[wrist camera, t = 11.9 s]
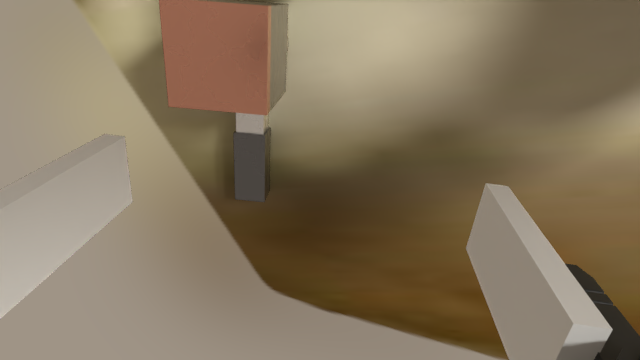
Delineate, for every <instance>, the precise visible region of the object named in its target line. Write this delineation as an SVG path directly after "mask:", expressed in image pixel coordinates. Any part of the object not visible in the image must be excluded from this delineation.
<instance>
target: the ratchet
mask: <svg viewBox="0 0 640 360" xmlns="http://www.w3.org/2000/svg"><path fill="white" fill-rule="evenodd" d="M287 51H288V35H287ZM270 136H271V128H269V113H268V115H257V114H245V113H236V131H235V132H234V173H235V199H238V200H248V201H258V202H265V200H266V198H267V196H268V193H269V191H270Z"/></svg>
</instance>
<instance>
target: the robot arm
mask: <svg viewBox="0 0 640 360" xmlns="http://www.w3.org/2000/svg"><path fill="white" fill-rule="evenodd" d="M131 203H132V193H131V185H130V176H129V168H128V160H127V151H126V143H125V137H124V136H117V135H110V134H104V135H102V136H100V137H98V138H96V139H94V140H92V141H91V142H88V143H87V144H85V145H83V146H81V147H79V148H77V149H75V150H74V151H71V152H70V153H68V154H66V155H64V156H62V157H60V158H58V159H57V160H55V161H53V162H51V163H49V164H47V165H45V166H43V167H41V168H39V169H38V170H36V171H34V172H32V173H30V174H28V175H26V176H24V177H23V178H21V179H19V180H17V181H15V182H13V183H11V184H9V185H7V186H6V187H4V188H2V189H0V319H1V318H2V317H3V316H4V315H5V314H6V313H7V312H9V311H10V310H11V309H12V308H13V307H14V306H15V305H17V303H19V302H20V301H21V300H22V299H23V298H24V297H26V296H27V295H28V294H29V293H30V292H31V291H32V290H34V289H35V288H36V287H37V286H38V285H39V284H40V283H41V282H42V281H44V280H45V279H46V278H47V277H48V276H49V275H50V274H52V272H54V271H55V270H56V269H57V268H58V267H59V266H61V265H62V264H63V263H64V262H65V261H66V260H67V259H69V258H70V257H71V256H72V255H73V254H74V253H75V252H77V251H78V250H79V249H80V248H81V247H82V246H83V245H84V244H86V243H87V242H88V241H89V240H90V239H91V238H92V237H93V236H95V235H96V234H97V233H98V232H99V231H100V230H101V229H103V228H104V227H105V226H106V225H107V224H108V223H109V222H110V221H112V219H114V218H115V217H116V216H117V215H118V214H119V213H120V212H122V211H123V210H124V209H125V208H126V207H127V206H129V205H130V204H131ZM466 250H467V252H468V255H469V257H470V260H471V263H472V265H473V268H474V270H475V273H476V275H477V278H478V281H479V283H480V286H481V288H482V291H483V294H484V296H485V299H486V301H487V304H488V306H489V309H490V312H491V314H492V317H493V319H494V322H495V324H496V327H497V330H498V332H499V335H500V337H501V340H502V343H503V345H504V348H505V350H506V353H507V355H508V358H509V360H640V336H639V335H638V334H637V333H636V331H635V330H634V329H633V328H632V326H631V325H630V324H629V323H628V321H627V320H626V319H625V317H624V316H623V315H622V314H621V312H620V311H619V310H618V309H617V307H616V306H613V302H612V301H611V300H610V299H609V297H608V296H607V295H606V294H604V291H603V290H602V289H601V287H600V286H599V285H598V284H597V282H596V281H595V280H594V278H592V277H591V276H590V275H588V274H587V273H586V272H584V271H583V270H582V269H581V268H579V267H578V266H577V265H571V264H565V263H564V262H563V261H562V259H561V258H560V257H559V255H558V254H557V253H556V251H555V250H554V248H553V247H552V246H551V244H550V243H549V242H548V240H547V239H546V237H545V236H544V235H543V233H542V232H541V231H540V229H539V228H538V227H537V225H536V224H535V222H534V221H533V220H532V218H531V217H530V216H529V214H528V213H527V212H526V210H525V209H524V207H523V206H522V205H521V203H520V202H519V201H518V199H517V198H516V196H515V195H514V194H513V192H512V191H511V190H510V188H509V187H508V186H502V185H495V184H487V183H486V184H485V187H484V191H483V194H482V197H481V201H480V204H479V207H478V211H477V214H476V217H475V221H474V224H473V227H472V230H471V234H470V237H469V240H468V244H467V247H466Z"/></svg>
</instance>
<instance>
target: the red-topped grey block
mask: <svg viewBox="0 0 640 360" xmlns="http://www.w3.org/2000/svg"><path fill="white" fill-rule="evenodd" d="M159 7H160V18H161V29H162V40H163V50H164V61H165V72H166V83H167V94H168V105H169V107H178V108H189V109H201V110H212V111H223V112H234V113H245V114H257V115H268V113H269V112H270V111H271V109H272V108H273V107H274V106H275V104H276V103H277V102H278V100H279V99H280V98H281V97H282V95H283V94H284V93H285V91H286V62H287V30H288V4H279V3H266V2H252V1H239V0H159Z"/></svg>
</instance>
